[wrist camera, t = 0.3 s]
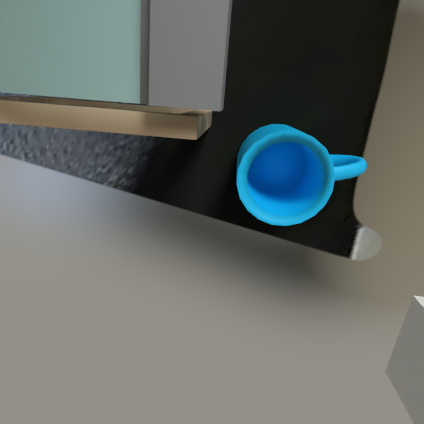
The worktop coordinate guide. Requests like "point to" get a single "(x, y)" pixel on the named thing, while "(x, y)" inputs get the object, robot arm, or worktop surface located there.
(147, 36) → the trapdoor
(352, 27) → the worktop surface
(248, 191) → the mug
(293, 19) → the worktop surface
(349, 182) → the worktop surface
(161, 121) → the frame
